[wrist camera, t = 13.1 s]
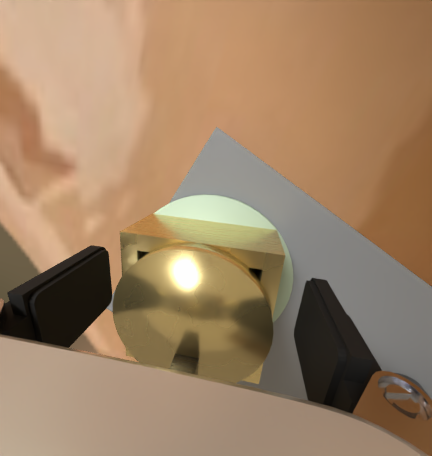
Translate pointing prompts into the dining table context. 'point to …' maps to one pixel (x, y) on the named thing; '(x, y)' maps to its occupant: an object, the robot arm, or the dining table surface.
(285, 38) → the dining table surface
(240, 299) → the gold domed block
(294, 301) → the board
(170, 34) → the dining table surface
